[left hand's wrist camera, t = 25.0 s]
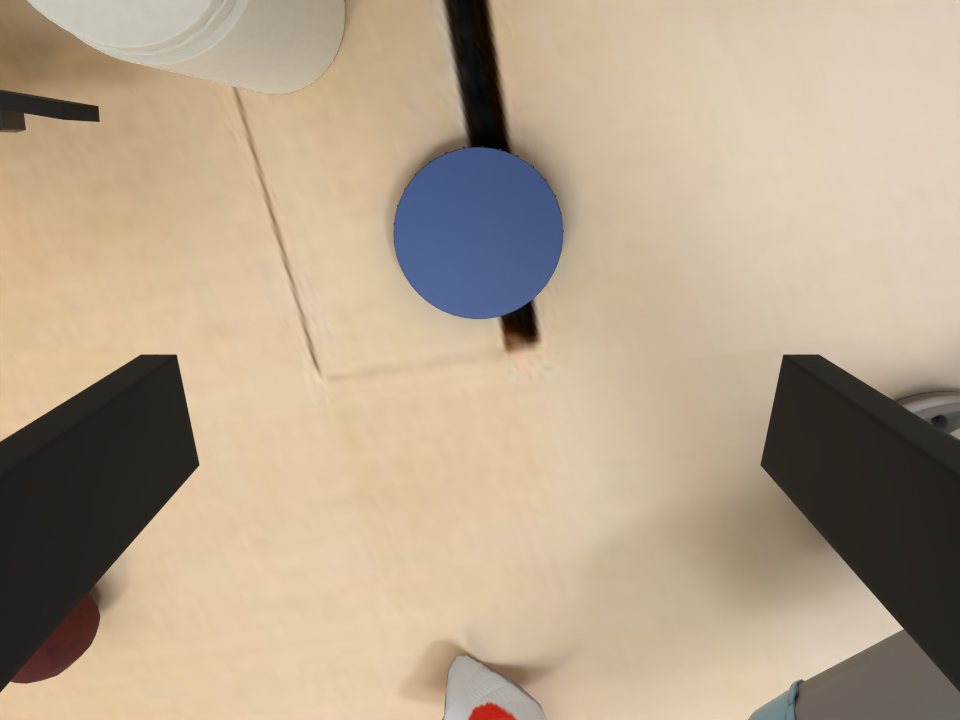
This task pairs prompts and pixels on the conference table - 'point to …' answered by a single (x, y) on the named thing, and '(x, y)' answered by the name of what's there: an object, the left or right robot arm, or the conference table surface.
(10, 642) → the left robot arm
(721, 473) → the conference table surface
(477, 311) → the lid
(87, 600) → the dark red ball
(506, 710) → the fish
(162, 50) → the jar
